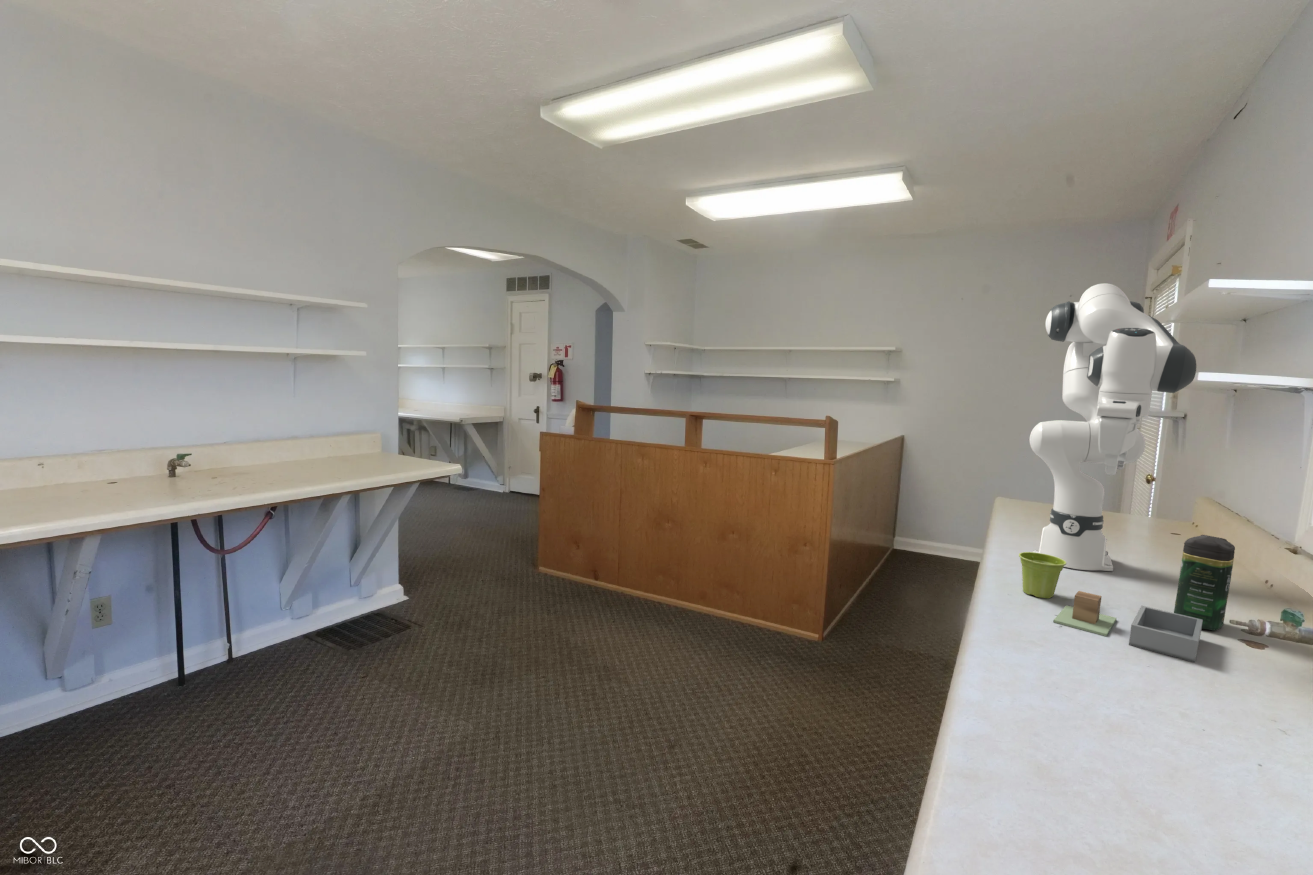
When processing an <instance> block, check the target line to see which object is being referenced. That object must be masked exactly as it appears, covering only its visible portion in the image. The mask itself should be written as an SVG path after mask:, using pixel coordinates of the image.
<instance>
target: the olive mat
mask: <svg viewBox="0 0 1313 875" xmlns="http://www.w3.org/2000/svg"><path fill="white" fill-rule="evenodd" d="M1073 607H1074V606H1072V605H1071V606H1070V605H1065V606H1064V607H1063V609H1061V611H1060V612H1059V613H1058V614H1057V615H1056V616H1055V617H1054V619H1053V620H1052V621H1053V623H1055V624H1058V625H1062V626H1066V627H1069V628H1073V629H1077V630H1082V631H1084V632H1088V633H1092V634H1095V635H1098V636H1104V637H1108V634H1109V633H1110V631H1111V630H1112V628H1113V626H1114V624H1115V623H1116V622H1117V617H1115V616H1112V615H1111V616H1110V615H1106V614H1103V613H1099V620H1098V621H1097V622H1096V624H1092V623H1088V622H1084V621H1080V620H1076V619H1073V618H1072V615H1073Z"/></svg>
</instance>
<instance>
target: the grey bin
mask: <svg viewBox="0 0 1313 875" xmlns="http://www.w3.org/2000/svg"><path fill="white" fill-rule="evenodd" d="M1202 622H1203V620H1202V619H1198V618H1193V617H1189V616H1185V615H1181V614H1176V613H1174V612H1171V611H1168V610H1162V609H1159V608H1153V607H1150V606H1145V605H1141V606H1140V607H1139V609H1138V611H1137V613H1136V615H1135V617H1134V619H1133V621H1132V623H1131V626H1130V632H1129V641H1128V645H1129V646H1132V647H1135V648H1138V649H1143V650H1147V651H1151V652H1155V653H1158V654H1162V655H1166V656H1170V657H1173V658H1176V659H1180V660H1185V661H1188V662H1191V663H1195V662H1196V660H1197V655H1198V650H1199V647H1200V646H1199V645H1200V641H1201V640H1200V639H1201V635H1202Z"/></svg>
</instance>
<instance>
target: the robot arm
mask: <svg viewBox="0 0 1313 875" xmlns="http://www.w3.org/2000/svg"><path fill="white" fill-rule="evenodd" d="M1144 310H1145V309H1144V306H1143V305H1142V304H1141V303H1139V302H1137V301H1131V300H1130V299H1129V297H1128V296H1127V294H1126V293H1125V292H1124V291H1123V290H1122V289H1121V288H1120V287H1119V286H1117V285H1116V284H1112V283H1107V282H1105V283H1097V284H1094V285H1092V286H1090V287H1088V288H1087V289H1086V290H1085V291H1084V292H1083V293H1082V295H1081V297H1080V299H1079V301H1074V302H1072V301H1066V302H1062V303H1058V304H1056V305H1055V306H1053V307H1051V309H1050V311H1049V312H1048V314H1047V315H1046V318H1045V330H1046V333H1047V337H1049V339H1051V340H1052V341H1055V342H1060V343H1061V342H1062V343H1063V342H1071V343H1070V344H1069V346H1068V348H1067V351H1066V353H1065V358H1064V363H1063V372H1062V394H1061V395H1062V397H1061V398H1062V402H1063V403H1064V405H1065V407H1066V408H1068V409H1069V410H1071V411H1073V412H1074V413H1077V414H1079V415H1080V416H1082V417H1083V418H1084V419H1085V421H1081V420H1080V421H1079V420H1077V421H1076V420H1064V419H1062V420H1061V419H1058V420H1047V421H1041V422H1038V423H1037V424H1036V425H1035V426H1034V427H1033V428H1032V430H1031V432H1030V435H1029V439H1028V440H1029V446H1030V448H1031V450H1032V452H1033V453H1034V454H1035V456H1037V457H1039V459H1041V460H1042V461H1043V462H1044V463H1045V464H1046V466H1047V468H1049V470H1050V472H1051V474H1052V478H1053V484H1054V494H1053V495H1054V496H1053V507H1052V508H1051V511H1050V513H1049V521H1050V523H1049V524H1048V525H1045V526H1044V527H1042V531H1041V537H1040V543H1039V549H1035V550H1033V551H1032V552H1035V553H1042V554H1047V555H1051V556H1055V557H1058V558H1061V559H1063V560H1064V561H1066V565H1064V567H1063V568H1069V569H1072V570H1073V569H1074V570H1081V571H1105V572H1114V566H1113V562H1112V559H1111V556H1110V555H1109V551H1108V550H1106V549H1107V540H1108V539H1107V538H1106V536H1105V535H1104V534H1103V532H1102V530H1103V527H1104V515H1103V508H1104V506H1103V505H1104V499H1105V488H1104V485H1103V484H1102V483H1101V481H1099V480H1098V479H1096V478H1094V477H1093V476H1091V475H1089V474H1087V473H1084V472H1083V471H1082V470H1081V463H1087V464H1088V463H1090V464H1101V465H1103V464H1104V465H1105V469H1104V474H1105V475H1109V476H1115V475H1116V474H1117V472H1118V471H1119V470H1120V471H1121V470H1123V469H1125V464H1133V463H1136V462H1137V461H1138V460H1139V459H1140V458H1141V457H1142V455H1144V453H1145V448H1146V441H1145V440H1146V439H1145V436H1144V434H1143V433H1142V432H1141V430H1140V429H1139V428H1138V425H1140V424H1141V418H1143V417H1145V418H1146V417H1149V416H1150V412H1151V411H1150V410H1151V403H1152V395H1153V394H1152V393H1153V391H1154V392H1159V393H1160V392H1161V393H1170V394H1174V393H1175V394H1176V392H1179V391H1180V390H1183V389H1184V388H1186V387H1187V386H1189V385H1190V384H1192V383H1193V381H1194V379H1195V377H1196V373H1197V359H1196V357H1195V354H1194V353H1193V352H1192V351H1191V350H1190V349H1189V348H1188V347H1187V346H1185V345H1184V344H1181V343H1180V342H1178V340H1177V339H1176V338H1175V337H1174V336H1173V335H1172V334H1171V333H1170V332H1169V330H1168V329H1167V328H1166V327H1165V326H1164V325H1163V324H1162V323H1161V322H1160V321H1159V319H1158V318H1156V317H1155V318H1154V317H1153V316H1151V315H1148V314H1146V313H1145V311H1144Z"/></svg>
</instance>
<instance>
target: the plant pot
mask: <svg viewBox="0 0 1313 875" xmlns="http://www.w3.org/2000/svg"><path fill="white" fill-rule="evenodd" d="M1018 557H1019V559H1020V563H1021V570H1022V571H1021V574H1022V575H1021V576H1022V579H1021V580H1022V591H1023V593H1025V595H1026V594H1027V595H1029V596H1030V595H1032V596H1035V597H1036V598H1040V599H1041V598H1042V599H1051V598H1052V597H1054V595H1055V591H1056V588H1057V585H1058V582H1059V579H1060V576H1061V573H1062V571H1063V569H1064V568H1065V567H1064V565H1066V561H1064V560H1063V559H1061V558H1058V557H1055V556H1051V555H1047V554H1042V553H1035V552H1033V551H1025V552H1024V551H1023V552H1020V553H1018Z"/></svg>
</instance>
